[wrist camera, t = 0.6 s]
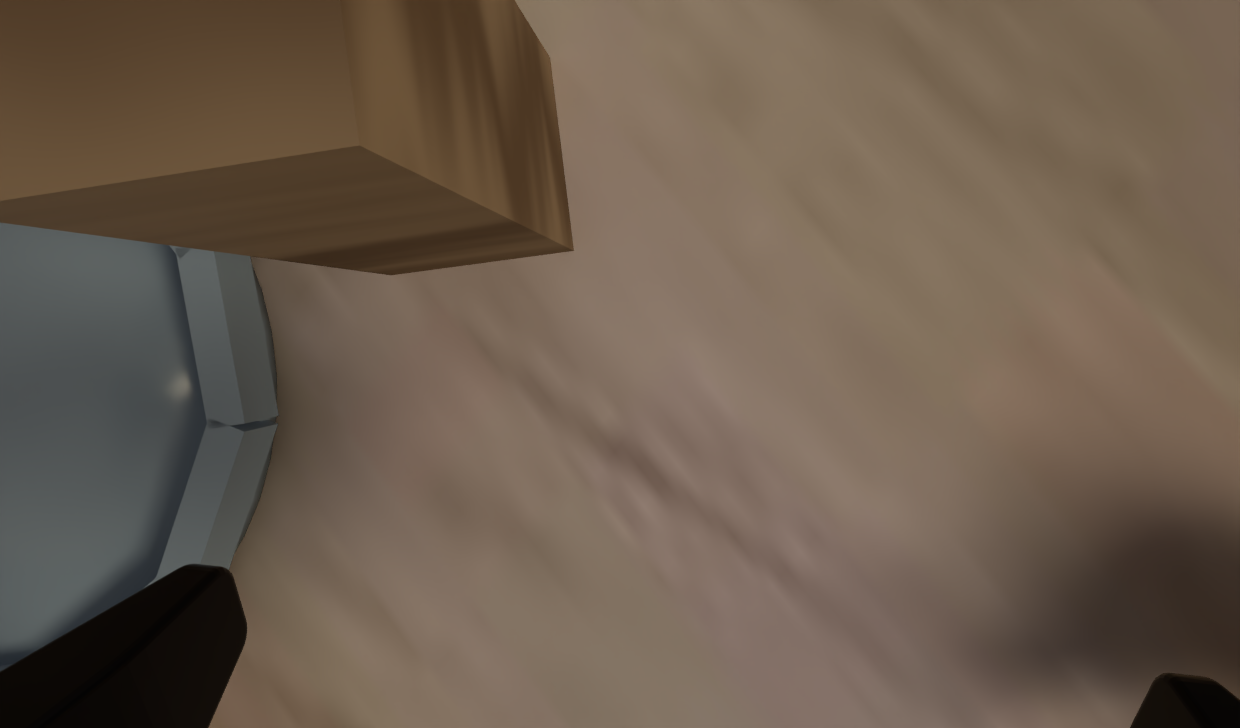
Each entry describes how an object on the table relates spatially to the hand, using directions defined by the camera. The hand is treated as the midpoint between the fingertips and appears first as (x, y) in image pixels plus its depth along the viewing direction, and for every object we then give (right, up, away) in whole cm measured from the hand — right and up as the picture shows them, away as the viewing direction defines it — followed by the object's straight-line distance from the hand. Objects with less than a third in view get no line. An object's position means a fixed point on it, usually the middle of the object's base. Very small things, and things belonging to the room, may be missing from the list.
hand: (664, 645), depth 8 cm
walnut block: (-4, +8, +13) cm, 16 cm away
